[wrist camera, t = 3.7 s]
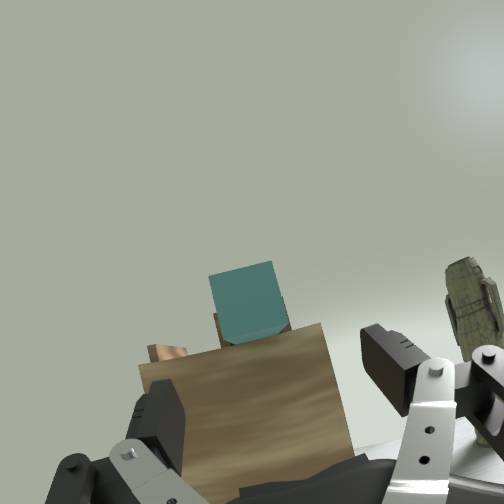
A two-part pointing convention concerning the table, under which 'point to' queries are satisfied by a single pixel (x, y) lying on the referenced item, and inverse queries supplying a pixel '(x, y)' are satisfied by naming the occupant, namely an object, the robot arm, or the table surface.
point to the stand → (255, 410)
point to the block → (248, 303)
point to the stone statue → (474, 312)
